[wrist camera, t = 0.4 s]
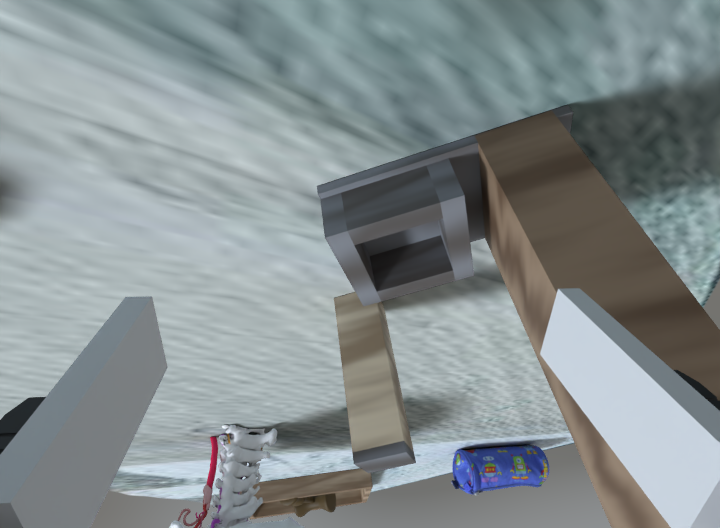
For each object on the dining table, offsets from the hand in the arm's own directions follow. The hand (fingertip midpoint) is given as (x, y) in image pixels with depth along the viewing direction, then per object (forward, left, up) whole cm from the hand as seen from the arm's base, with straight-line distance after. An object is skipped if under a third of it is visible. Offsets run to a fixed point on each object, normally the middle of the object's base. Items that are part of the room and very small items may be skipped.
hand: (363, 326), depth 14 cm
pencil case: (+89, +39, -16) cm, 99 cm away
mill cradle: (+101, -5, -15) cm, 103 cm away
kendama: (+102, -5, -16) cm, 103 cm away
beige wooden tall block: (+22, +3, -16) cm, 27 cm away
